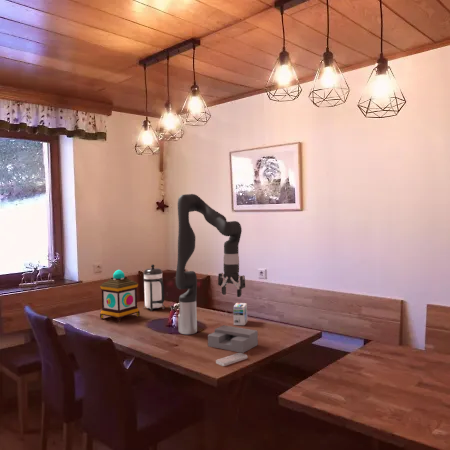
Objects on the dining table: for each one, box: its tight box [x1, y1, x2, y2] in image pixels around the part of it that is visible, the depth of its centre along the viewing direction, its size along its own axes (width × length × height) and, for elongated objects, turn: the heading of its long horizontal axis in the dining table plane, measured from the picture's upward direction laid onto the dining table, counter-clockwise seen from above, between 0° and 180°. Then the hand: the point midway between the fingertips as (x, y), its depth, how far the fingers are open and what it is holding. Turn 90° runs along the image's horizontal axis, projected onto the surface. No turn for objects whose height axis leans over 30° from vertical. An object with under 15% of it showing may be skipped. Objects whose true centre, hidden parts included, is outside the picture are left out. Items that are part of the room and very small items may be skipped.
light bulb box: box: [232, 302, 248, 326], centre depth 256 cm, size 11×7×11 cm, turn 168°
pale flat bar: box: [215, 352, 248, 367], centre depth 195 cm, size 5×14×2 cm, turn 131°
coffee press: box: [142, 264, 166, 312], centre depth 295 cm, size 17×16×30 cm
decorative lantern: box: [99, 269, 140, 323], centre depth 274 cm, size 20×20×30 cm
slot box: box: [207, 325, 259, 354], centre depth 216 cm, size 20×14×7 cm
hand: (231, 295), depth 214 cm, fingers open, 8 cm apart
